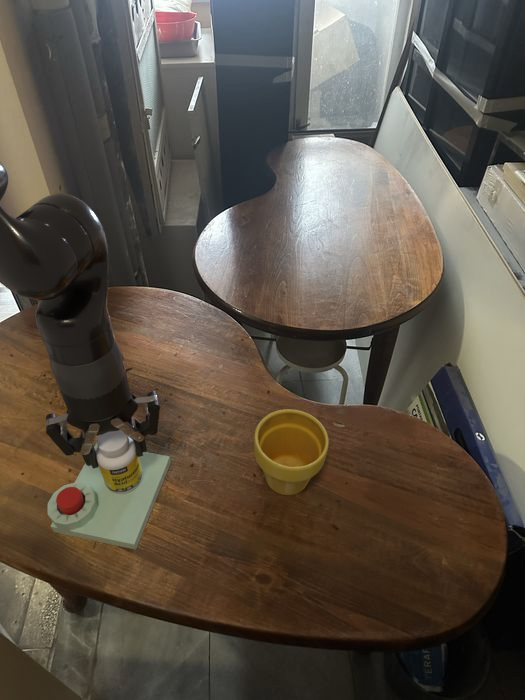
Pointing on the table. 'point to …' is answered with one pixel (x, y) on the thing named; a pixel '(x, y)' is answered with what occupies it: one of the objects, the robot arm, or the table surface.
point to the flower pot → (290, 449)
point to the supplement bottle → (118, 462)
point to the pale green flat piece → (111, 505)
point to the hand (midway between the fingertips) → (118, 456)
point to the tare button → (70, 500)
